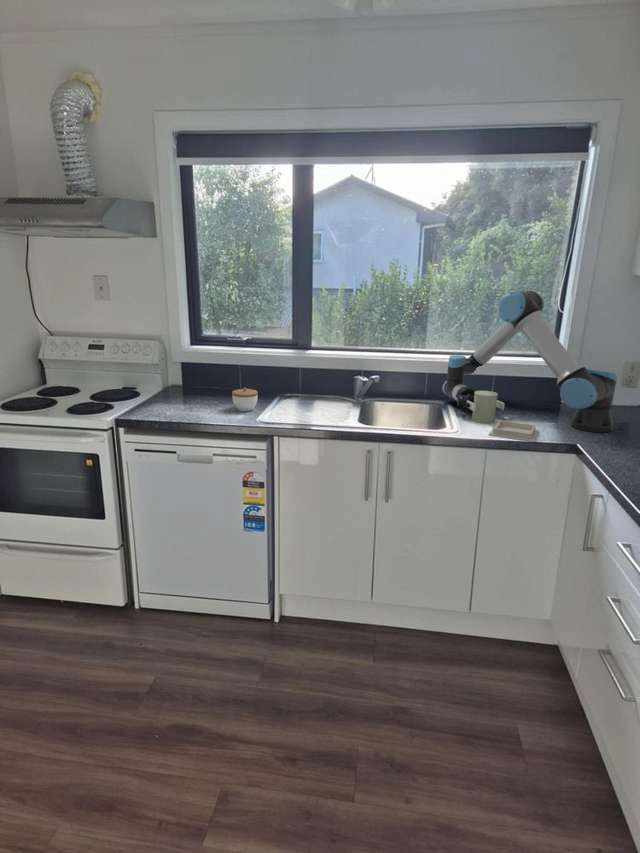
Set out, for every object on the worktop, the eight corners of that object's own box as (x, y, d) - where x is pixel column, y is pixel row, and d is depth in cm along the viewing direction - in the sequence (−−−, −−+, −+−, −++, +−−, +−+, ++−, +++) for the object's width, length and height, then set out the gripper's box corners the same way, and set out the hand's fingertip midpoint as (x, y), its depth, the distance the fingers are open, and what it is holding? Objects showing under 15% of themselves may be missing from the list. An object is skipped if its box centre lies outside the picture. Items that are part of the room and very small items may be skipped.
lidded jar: (227, 408, 230) (227, 387, 227) (248, 405, 237) (248, 384, 234) (241, 414, 223) (241, 392, 220) (262, 410, 230) (262, 388, 227)
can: (493, 424, 217) (496, 395, 213) (469, 421, 220) (472, 392, 217) (496, 419, 225) (499, 391, 221) (473, 416, 228) (476, 388, 225)
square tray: (496, 424, 216) (497, 418, 216) (538, 431, 209) (539, 424, 209) (488, 435, 203) (489, 428, 202) (533, 442, 196) (534, 435, 195)
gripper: (488, 402, 241) (515, 415, 221) (437, 403, 236) (460, 417, 216) (490, 385, 239) (517, 397, 219) (439, 387, 234) (462, 399, 213)
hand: (489, 407), depth 217 cm, fingers open, 12 cm apart
